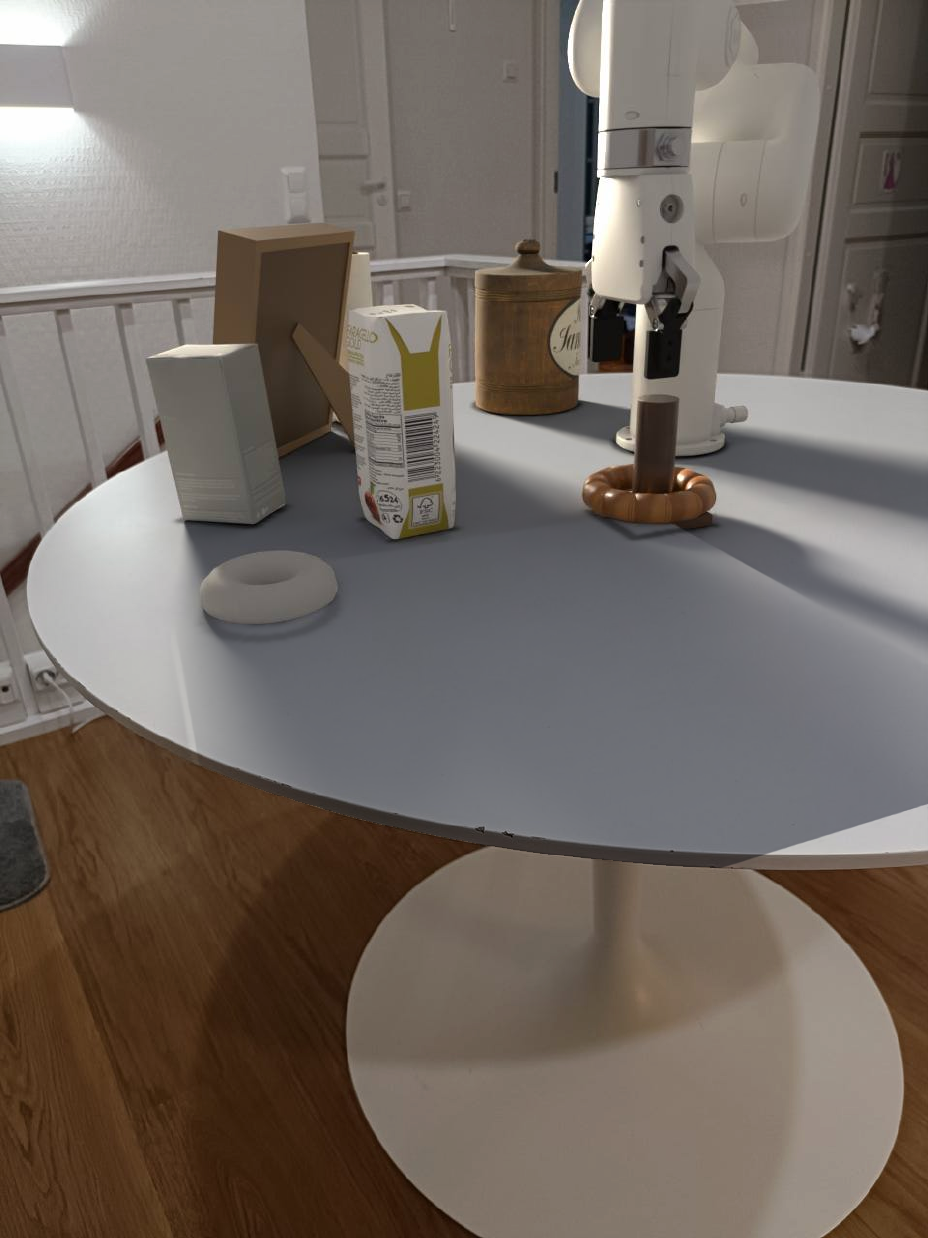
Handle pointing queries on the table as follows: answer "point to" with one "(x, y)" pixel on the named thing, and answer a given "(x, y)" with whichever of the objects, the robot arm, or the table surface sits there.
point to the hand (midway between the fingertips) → (632, 368)
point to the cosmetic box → (218, 432)
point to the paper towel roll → (356, 298)
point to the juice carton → (403, 417)
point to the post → (658, 450)
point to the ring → (648, 496)
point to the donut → (268, 587)
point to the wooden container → (527, 335)
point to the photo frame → (290, 320)
